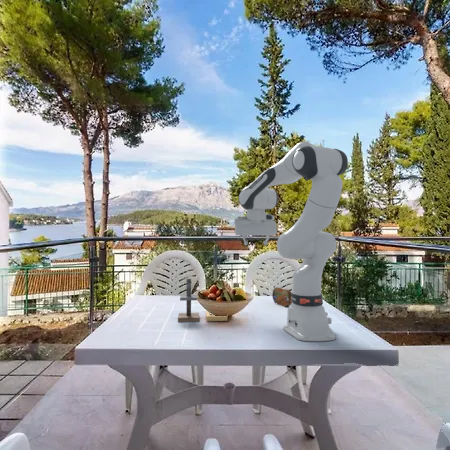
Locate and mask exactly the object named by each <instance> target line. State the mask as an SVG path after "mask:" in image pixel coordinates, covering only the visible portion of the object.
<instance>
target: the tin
mask: <svg viewBox="0 0 450 450" xmlns="http://www.w3.org/2000/svg"><path fill="white" fill-rule="evenodd" d="M271 294H272V300H273V302H274V304H276V303H277V305H279V306H282V307H290V306H291V304H292V302H291V296H292V291H291V290H289V289H287V288H284V287H274V289H273V290H272V293H271Z"/></svg>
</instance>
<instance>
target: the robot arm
mask: <svg viewBox="0 0 450 450" xmlns="http://www.w3.org/2000/svg"><path fill="white" fill-rule="evenodd" d="M348 163H349V161H348V155H347V154H346V153H345V152H344V151H342V150H341V149H337V148H329V147H325V146H318V145H317V146H315V145H314V144H312V143H310V142H308V141H301V142H298V143H297V144H295V146H293V147H292V148H291V149H290V150H289V151H288V152H287V153H286V154H285V155H284V157H282V159H280V161H278V162H276V163H275V164H274V165H272V166H271V167H269V168H267V169H266V170H264V171H263V172H262V173H261V174H260V175H259V176H258V177H256V178H255V180H253V182H251V183H249V184H248V185H247V186H245V187H244V188H242V190H241V191H240V192H239V194H238V202H239V205H240V206H241V207H242V208H243V209H244V210H246V216H243V215H242V216H239V215H238V216H236V217H234V223H233V224H234V225H235V227H234V235H235V236H241V238H242V240H243V243H244V245H245V246H249V245H248V244H249V243H248V242H249V241H247V240H246V236H265V238H266V239H265V240H264V241H263V245H264V246H267V245H268V241H269V240H270V238H271V237H270V236H276V235H277V234H278V227H277V223H276V221H275V218H276V217H275V215H274V214H273V215H272V214H270V213H266V210H272V209H274V208H275V207H276V206H277V205H278V202H279V196H278V192H277V191H276V190H275V189H273V188H270V187H273V186H278V185H287V184H288V185H290V184H294V183H296V182H298V181H299V180H301V179H302V178H303V180H305V181H309V180H311V189H310V191H309V194H308V197H307V199H306V202H305V205H304V208H303V210H302V212H301V215H300V216H299V218H298V219H297V220H296V222H295V223H294V224H293V225H292V226H291V227H290V228H289V229H288V230H286V231H285V232H283V233H281V234H280V235H279V236H278V239H277V241H276V249H277V253H278V254H279V255H280V257H282V258H284V259H289V260H302V263H301V264H300V266H299V267H298V268H297V269H296V270H294V272H293V274H292V291H291V293H292V296H291V302H292V304H291V305H290V306H288V307H287V314H286V325H283V327H282V330H283V331H285V332H286V333H288V334H289V335H291V336H292V337H293V338H295V339H297V340H298V341H304V342H328V341H334V340H336V335H335V334H334V332H333V330H332V327H331V326H330V325H332V323H333V322H332V317H328V312H327V311H325V310H326V309H325V307H324V306H323V305H324V301H323V300H324V299H323V293H322V277H323V272H324V269H325V266H326V264H327V262H328V260H329V259H330V258H331V256H332V255H334V253H335V252H336V250H337V241H336V238H335V236H334V234H332V233H330V232H327V231H323V230H324V229H326V228H328V227H329V226H330V225H331V223H332V220H333V218H334V216H335V213H336V211H337V208H338V204H339V202H340V199H341V196H342V195H341V194H342V192H343V191H342V190H343V184H344V182H343V180H342V178H341V177H340V176H342V175H343V174H344V173H345V172H346V170H347V168H348Z"/></svg>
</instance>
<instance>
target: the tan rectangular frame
mask: <svg viewBox="0 0 450 450" xmlns="http://www.w3.org/2000/svg"><path fill="white" fill-rule="evenodd" d="M205 320H206V322H219V321H220V322H223V321H225V322H227V321H228V315H227V316H215V315H212V314H210V313H209V312H208V310H207V311H205Z"/></svg>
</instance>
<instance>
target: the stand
mask: <svg viewBox="0 0 450 450" xmlns="http://www.w3.org/2000/svg"><path fill="white" fill-rule="evenodd" d="M185 289H186V293H185V294H182V293H181V294H180V297H179V301H180V302H181V301H185V302H186V312H179V313H178V316H177V322H179V323H180V322H181V323H182V322H200V312H192V301H198V295H197V296H196V295H195V294H196V293H192V278H186V288H185Z"/></svg>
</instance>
